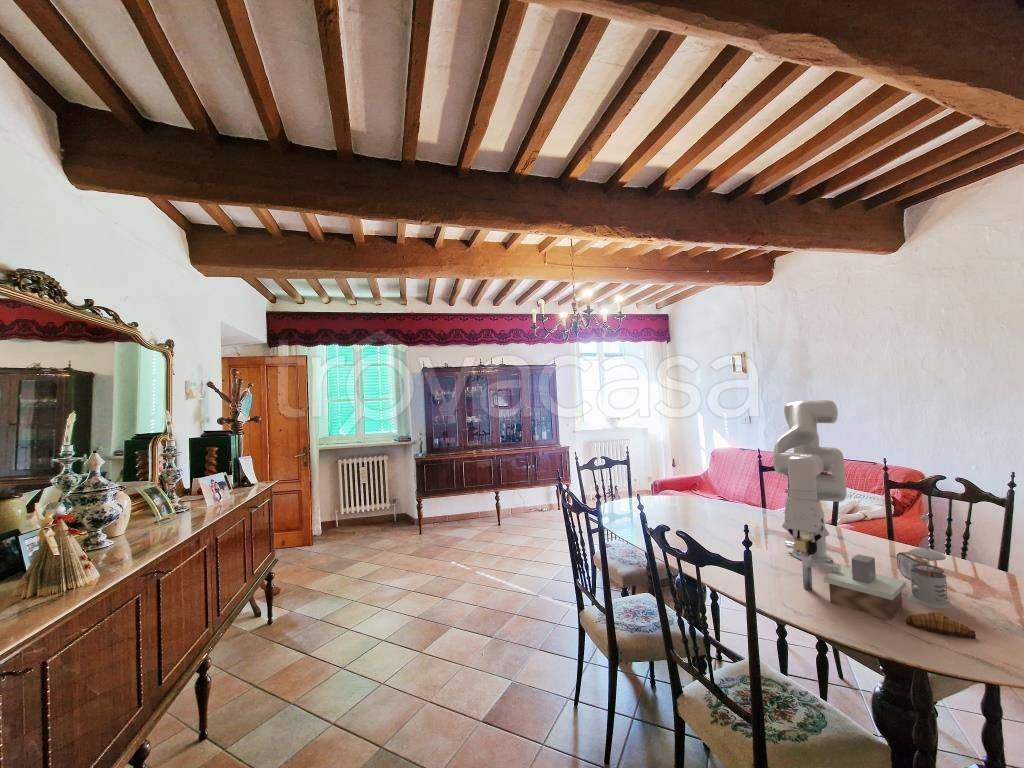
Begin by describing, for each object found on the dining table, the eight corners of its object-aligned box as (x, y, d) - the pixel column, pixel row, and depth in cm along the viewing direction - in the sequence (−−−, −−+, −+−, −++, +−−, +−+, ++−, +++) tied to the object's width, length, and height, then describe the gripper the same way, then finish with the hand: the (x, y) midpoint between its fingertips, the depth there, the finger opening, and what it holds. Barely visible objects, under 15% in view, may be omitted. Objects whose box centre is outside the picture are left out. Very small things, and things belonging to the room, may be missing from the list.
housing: (830, 602, 133) (829, 582, 133) (844, 591, 140) (843, 572, 140) (890, 620, 121) (889, 597, 122) (902, 607, 129) (900, 586, 129)
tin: (938, 591, 138) (936, 564, 139) (926, 591, 139) (924, 563, 139) (905, 573, 153) (904, 548, 153) (895, 572, 154) (893, 548, 154)
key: (796, 590, 141) (794, 540, 142) (808, 582, 147) (805, 534, 147) (836, 601, 133) (833, 548, 133) (846, 592, 138) (843, 541, 139)
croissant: (906, 630, 117) (905, 611, 117) (903, 620, 122) (902, 601, 122) (980, 645, 109) (978, 624, 109) (972, 633, 114) (971, 613, 114)
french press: (903, 600, 133) (898, 515, 134) (913, 589, 140) (908, 509, 141) (949, 611, 125) (943, 522, 126) (957, 599, 132) (951, 515, 133)
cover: (824, 582, 133) (822, 556, 133) (840, 570, 142) (839, 546, 142) (892, 600, 120) (890, 572, 121) (906, 586, 129) (904, 560, 129)
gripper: (770, 492, 148) (773, 548, 147) (828, 500, 135) (831, 561, 134) (780, 489, 153) (783, 543, 152) (837, 496, 140) (840, 556, 139)
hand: (806, 551), depth 143 cm, fingers closed on key, 3 cm apart
